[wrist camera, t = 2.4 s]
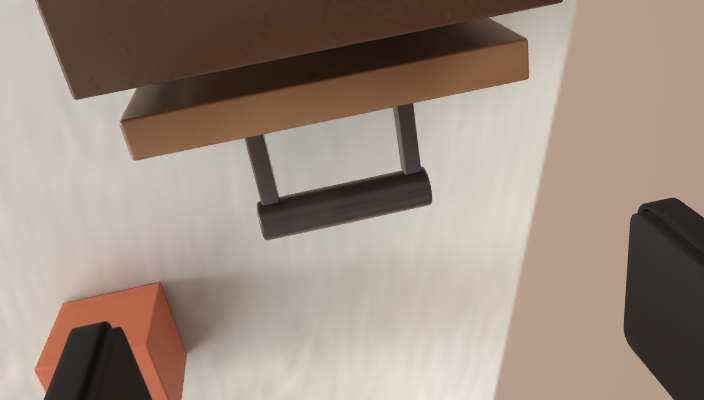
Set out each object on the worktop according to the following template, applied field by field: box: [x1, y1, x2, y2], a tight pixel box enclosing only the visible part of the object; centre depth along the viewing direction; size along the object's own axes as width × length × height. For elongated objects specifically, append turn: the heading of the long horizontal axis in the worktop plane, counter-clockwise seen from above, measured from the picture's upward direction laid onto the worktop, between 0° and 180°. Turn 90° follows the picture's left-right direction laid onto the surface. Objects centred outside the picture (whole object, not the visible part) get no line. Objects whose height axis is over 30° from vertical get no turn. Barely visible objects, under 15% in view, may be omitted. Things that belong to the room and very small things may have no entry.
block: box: [35, 283, 187, 400], centre depth 28 cm, size 4×4×4 cm
